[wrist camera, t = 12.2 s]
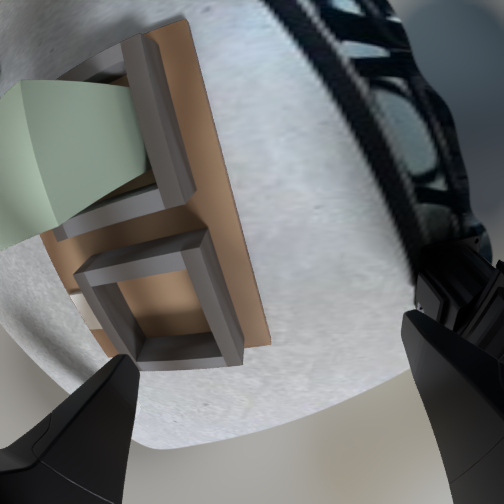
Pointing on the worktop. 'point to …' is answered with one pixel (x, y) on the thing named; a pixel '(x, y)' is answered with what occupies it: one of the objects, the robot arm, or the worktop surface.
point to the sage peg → (63, 152)
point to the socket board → (163, 224)
